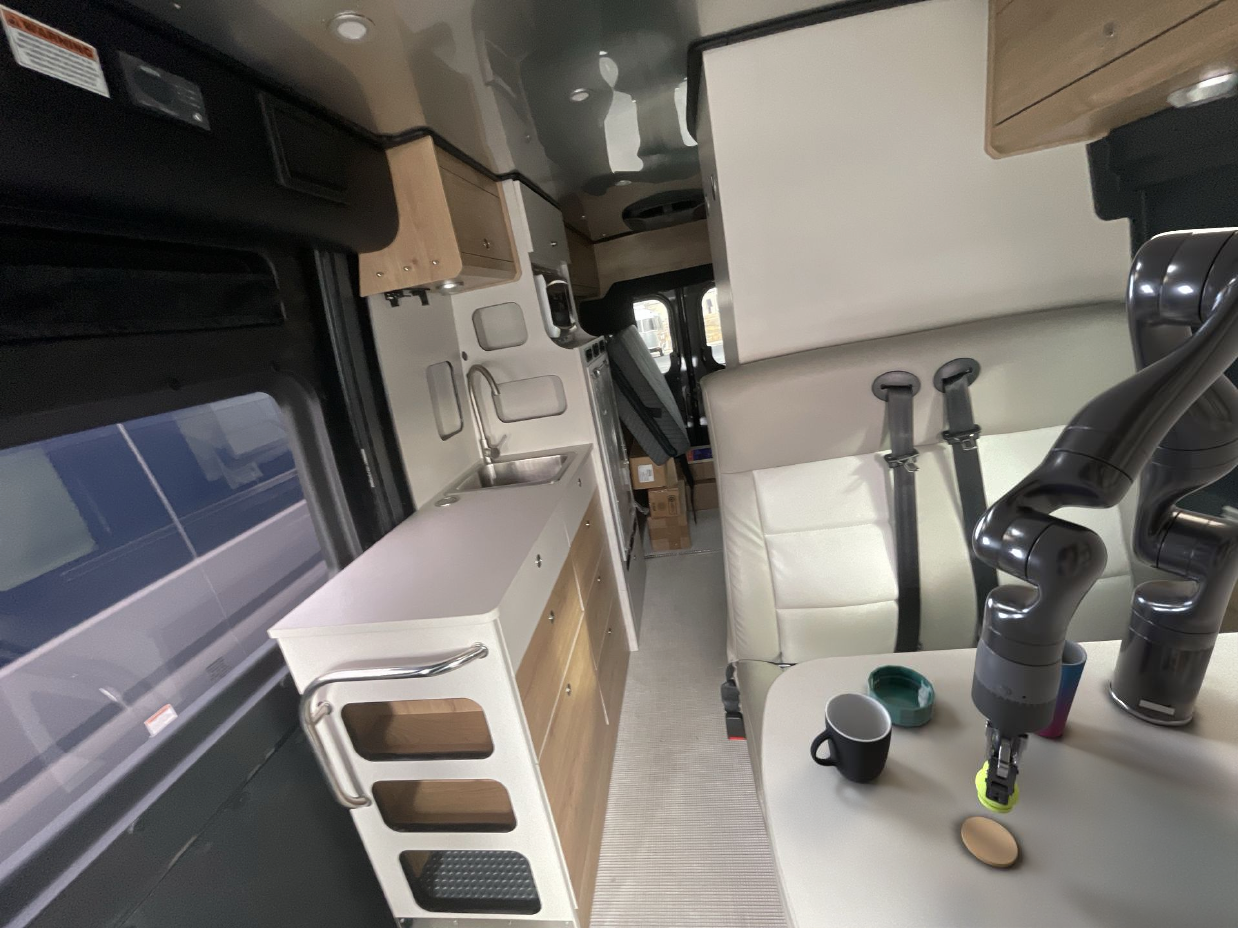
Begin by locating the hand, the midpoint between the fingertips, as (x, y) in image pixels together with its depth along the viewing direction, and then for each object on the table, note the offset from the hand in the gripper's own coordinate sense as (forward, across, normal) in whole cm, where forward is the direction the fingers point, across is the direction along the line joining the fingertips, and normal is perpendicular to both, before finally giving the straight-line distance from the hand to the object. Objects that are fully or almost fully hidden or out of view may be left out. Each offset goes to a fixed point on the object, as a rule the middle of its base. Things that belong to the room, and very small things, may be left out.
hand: (997, 783), depth 65 cm
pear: (+3, 0, 0) cm, 3 cm away
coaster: (+11, 0, 0) cm, 11 cm away
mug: (+11, +2, +18) cm, 21 cm away
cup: (+11, +24, -5) cm, 27 cm away
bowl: (+11, +18, +14) cm, 25 cm away
